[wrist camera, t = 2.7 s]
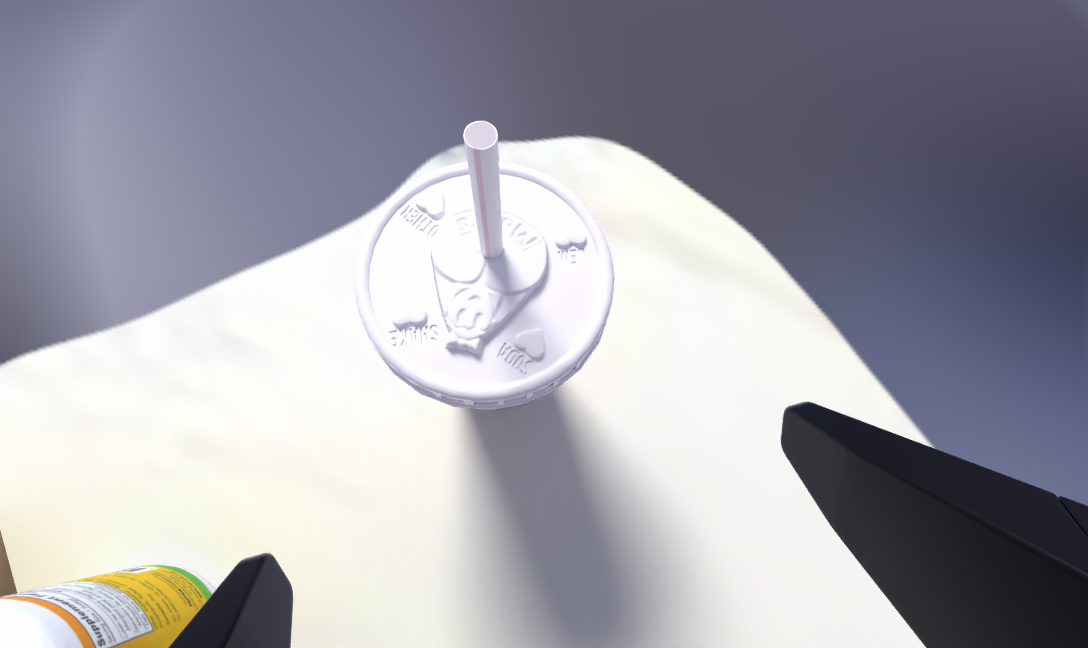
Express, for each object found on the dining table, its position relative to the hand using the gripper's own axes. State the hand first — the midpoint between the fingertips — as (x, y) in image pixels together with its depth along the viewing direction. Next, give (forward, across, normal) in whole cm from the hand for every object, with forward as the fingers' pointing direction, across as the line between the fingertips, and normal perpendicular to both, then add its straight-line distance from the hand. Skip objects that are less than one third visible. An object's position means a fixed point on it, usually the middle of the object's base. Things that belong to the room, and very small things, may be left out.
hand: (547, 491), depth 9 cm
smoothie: (+12, 0, +5) cm, 13 cm away
